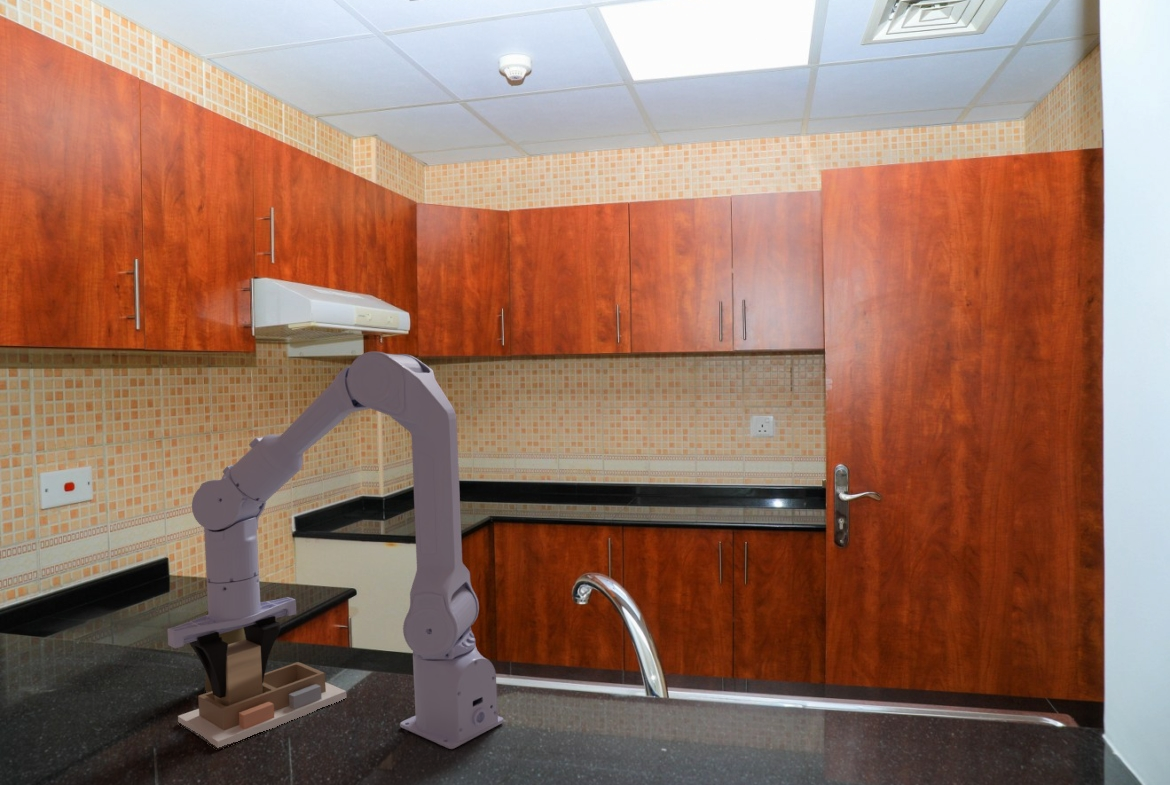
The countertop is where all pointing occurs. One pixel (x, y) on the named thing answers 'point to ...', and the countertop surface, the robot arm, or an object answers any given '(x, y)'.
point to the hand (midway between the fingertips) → (238, 688)
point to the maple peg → (242, 672)
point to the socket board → (263, 705)
